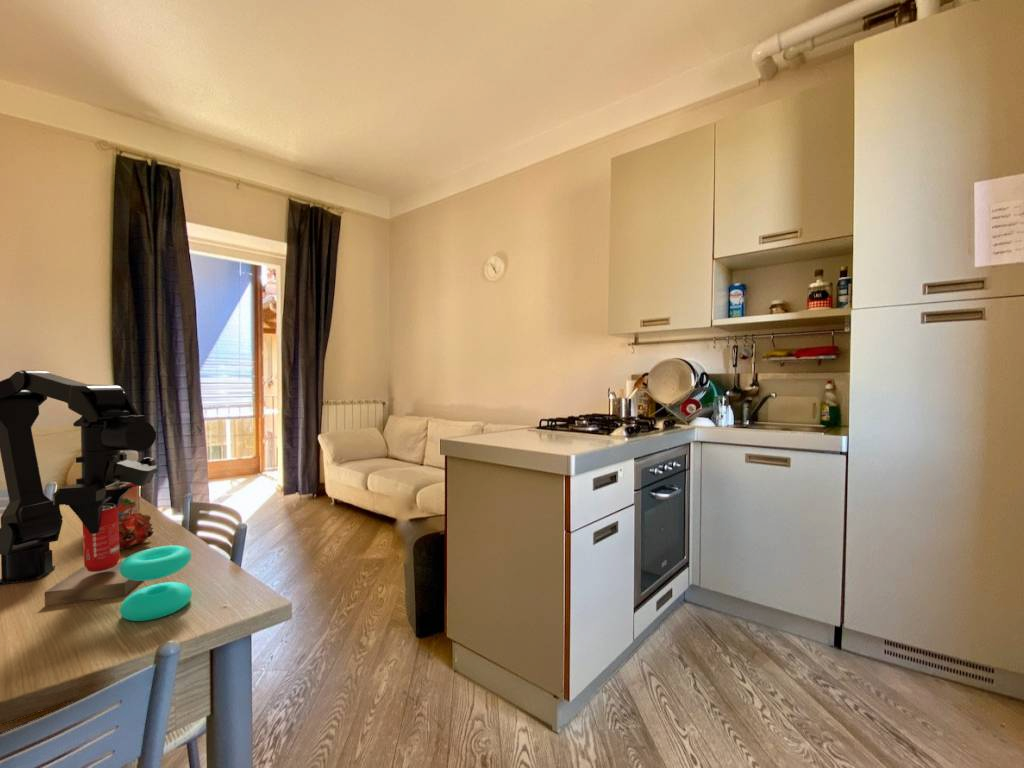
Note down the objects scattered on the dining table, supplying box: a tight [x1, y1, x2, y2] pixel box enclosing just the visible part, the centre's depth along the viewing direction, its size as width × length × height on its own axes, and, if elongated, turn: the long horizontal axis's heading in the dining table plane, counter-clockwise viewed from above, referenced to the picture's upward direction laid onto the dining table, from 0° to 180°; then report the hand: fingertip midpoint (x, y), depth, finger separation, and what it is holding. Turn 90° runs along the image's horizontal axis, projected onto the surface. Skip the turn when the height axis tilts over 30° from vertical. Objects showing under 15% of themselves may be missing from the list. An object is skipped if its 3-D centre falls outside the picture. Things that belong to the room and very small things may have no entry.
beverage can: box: [81, 503, 121, 572], centre depth 90 cm, size 5×5×12 cm
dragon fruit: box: [118, 511, 154, 550], centre depth 113 cm, size 8×8×12 cm
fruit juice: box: [118, 450, 141, 519], centre depth 129 cm, size 9×9×28 cm
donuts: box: [119, 544, 193, 622], centre depth 81 cm, size 10×10×10 cm
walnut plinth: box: [44, 561, 142, 607], centre depth 90 cm, size 12×12×2 cm
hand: (102, 528), depth 90 cm, fingers closed on beverage can, 5 cm apart
